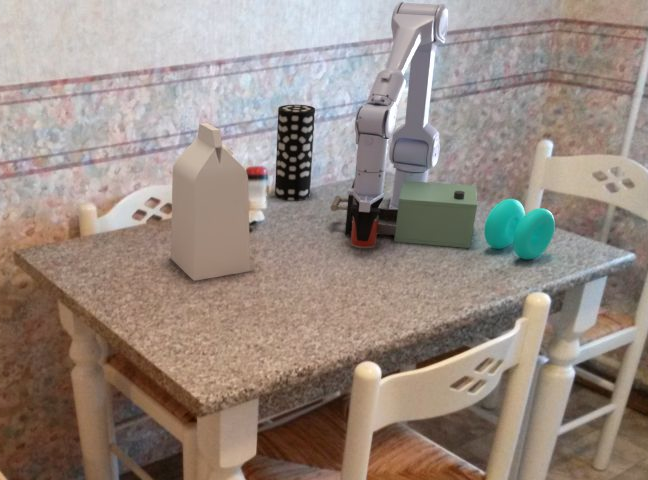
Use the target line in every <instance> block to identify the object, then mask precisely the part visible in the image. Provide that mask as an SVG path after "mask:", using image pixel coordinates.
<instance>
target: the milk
mask: <svg viewBox="0 0 648 480" xmlns="http://www.w3.org/2000/svg"><path fill="white" fill-rule="evenodd" d="M220 130H221V129H219V128H217V127H215V126H214V125H211V124H210V123H208V122H201V123H199V124H198V131H197V137H196V138H195V139H194V141H192V142H191V144H189V146H188V147H186V149H185V150H184V151H183V152H182V153H181V154H179V156H178V158H177V159H176V160H175V161H174V163H173V166H172V181H171V182H172V184H171V186H172V187H171V223H170V224H171V225H170V228H171V229H170V260H171V261H173V262H174V264H175V265H176V266H178V267H179V268H180V269H181V270H182V272H184V273H185V274H186V275H187V276H188V277H189V278H190V279H191V280H192V281H194V282H196V281H201V280H207V279H214V278H218V277H224V276H231V275H236V274H241V273H242V274H243V273H249V272H251V245H250V244H251V243H250V241H251V239H250V202H249V201H250V199H249V175H248V172H247V171H246V169H245V168H244V166H243V165H242V164H241V163H240V162H239V161H238V160H236V159H235V158H234V157H233V155H234V152H233V150H232V149H230V147H229V146H227V145H226V144H225V143H224V142H222V135H221V131H220Z"/></svg>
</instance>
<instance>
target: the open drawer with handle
mask: <svg viewBox="0 0 648 480" xmlns="http://www.w3.org/2000/svg"><path fill="white" fill-rule="evenodd" d="M354 183H355V179H354V180H353V182H352V184H351V188H354ZM340 203H347V205H340ZM352 204H353V205H357V203H356V201H355V197H354V196H353V195H350V194H348V195H347V197H341V196H340V195H336V196H335V197H334V199H333V201H332V202H331V206H330V210H331V211H332V212H336V211H338V210H341V211H346V219H345V229H344V230H345V231H344V235H345V236H351V234H352V224H353V214H352V212H351V205H352ZM379 208H380V212H379V214H378V216H379V219H378V227H377V235H386V236H387V235H388V236H395V230H396V222H397V213H398V209H389V208H386V207H379Z"/></svg>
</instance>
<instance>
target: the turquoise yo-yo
mask: <svg viewBox="0 0 648 480" xmlns="http://www.w3.org/2000/svg"><path fill="white" fill-rule="evenodd" d="M555 227H556V221H555V217H554V214H553V213H552V212H551V211H550V210H548V209H547V208H542V207H538V208H534V209H532V210H531V211H529V212H527V213H526V211H525V207H524V206H523V204H522V203H521V202H520V201H519V200H518V199H516V198H515V199H514V198H506V199H503V200H501V201H500V202H498V203H497V204H496V205H495V206H494V207H493V208H492V209H491V210H490V212H489V213H488V216H487V217H486V220H485V224H484V229H483V230H484V231H483V232H484V233H483V234H484V239H485V241H486V243H487V244H488V246H490V247H491V248H493V249H496V250H497V249H498V250H501V249H505V248H507V247H509V246H511V245H512V246H513V250H514V252H515V254H516V256H518V257H519V258H520V259H523V260H529V261H530V260H533V259H536V258H538V257H539V256H541V255H542V254H543V253H544V252H545V251H546V250H547V248H548V247H549V245H550V243H551V241H552V240H553V237H554V234H555V230H556V229H555Z"/></svg>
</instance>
